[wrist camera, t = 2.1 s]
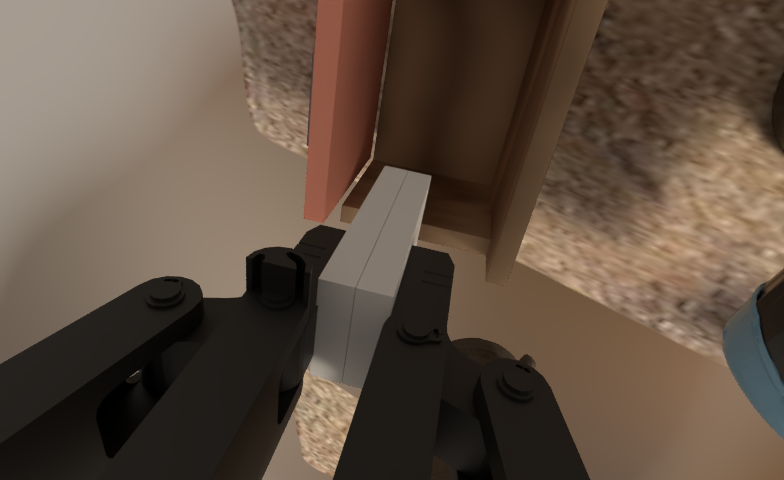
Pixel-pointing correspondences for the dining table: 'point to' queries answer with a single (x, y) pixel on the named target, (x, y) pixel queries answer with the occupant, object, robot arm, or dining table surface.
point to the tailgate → (343, 97)
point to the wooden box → (479, 113)
